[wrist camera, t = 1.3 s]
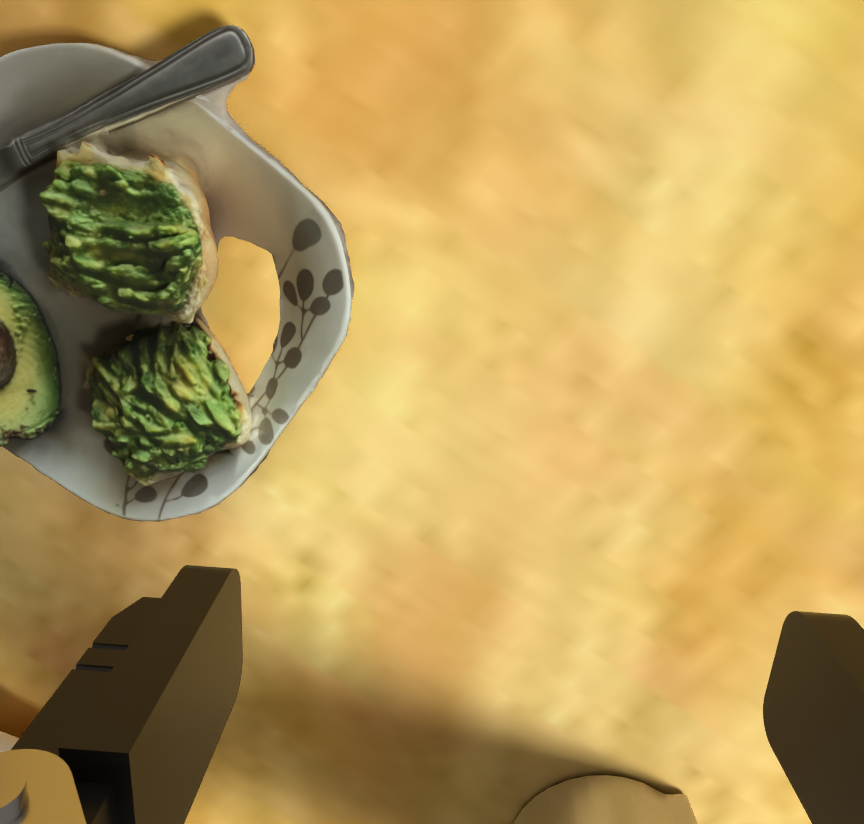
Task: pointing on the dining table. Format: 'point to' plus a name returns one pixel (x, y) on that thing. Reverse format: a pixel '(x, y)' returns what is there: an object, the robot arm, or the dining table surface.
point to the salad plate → (148, 275)
